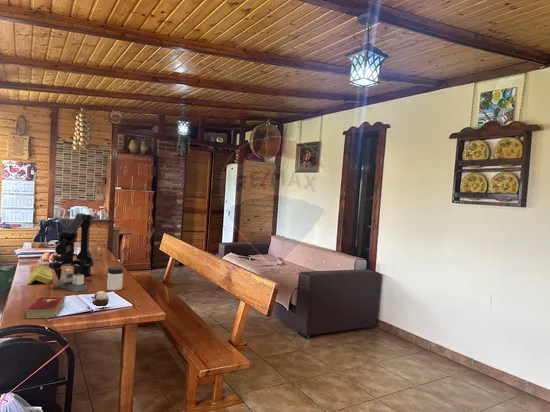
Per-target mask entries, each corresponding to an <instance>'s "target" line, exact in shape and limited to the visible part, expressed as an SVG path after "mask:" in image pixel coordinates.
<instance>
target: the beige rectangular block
mask: <svg viewBox="0 0 550 412" xmlns="http://www.w3.org/2000/svg"><path fill="white" fill-rule="evenodd" d="M73 274H74V271H71V270H61V277H60V280H61V282H64V283H65V282H71V281H72V276H73Z"/></svg>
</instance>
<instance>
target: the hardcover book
mask: <svg viewBox="0 0 550 412" xmlns="http://www.w3.org/2000/svg"><path fill="white" fill-rule="evenodd" d="M65 300H66V296H39V297H38V298H36V299H35V300H34V302H33V303H32V304H31V305H30V306H29V307H28V308H27V309H26V310H24V313H23V314H24V317H23V318H24V319H47V318H46V317H54V318H55V317H56V316H57V315H56V313H57V312H58V311H59V312H60V310H61V309H62V308H63V306H64V305H65ZM63 304H64V305H63ZM62 305H63V306H62ZM61 307H62V308H61ZM60 308H61V309H60ZM59 312H58V313H59ZM58 313H57V314H58ZM55 315H56V316H55Z"/></svg>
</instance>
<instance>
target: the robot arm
mask: <svg viewBox="0 0 550 412" xmlns="http://www.w3.org/2000/svg"><path fill="white" fill-rule="evenodd" d="M94 220H95V217H94V216H93V215H92V214H86V213H82V212H81V213H80V212H77V213H76V214H75V217H74V219H73V221H72V222H71V223H70V225H69V226H68V227H65V229H63V230H62V232H61V234H60V236H59V238H58V243H59V244H58V245H56V247H55V253H56V254H55V255H53V257H52V261H53V262H49V263H48V269H50V270H53V272H54V274H55V276H56V279H57V281H59V280H61V278H62V271H63V270H62V267H67V266H72V267H73V275H75V274H82V275H84V277H89V276H93V274H91V272H92V271H91V269H92V267H94V260H93V257H92V253H91V251H90V230H91V229H90V228H91V227H92V225H93V222H94ZM79 229H81V233H80V250H79V253H78V254H77V255H76V254H75V244H76V241H77V239H78V231H79ZM75 256H76V259H75V258H74V257H75Z"/></svg>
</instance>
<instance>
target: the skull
mask: <svg viewBox="0 0 550 412" xmlns="http://www.w3.org/2000/svg"><path fill="white" fill-rule="evenodd" d="M91 302H92V303H93V304H94V305H96V306H106V305H107V304H108V302H110V298H109V295H108V293H106V291H104V290H102V291H101V290H100V291H97V292H96V293H94V296H93V297H92V301H91Z"/></svg>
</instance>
